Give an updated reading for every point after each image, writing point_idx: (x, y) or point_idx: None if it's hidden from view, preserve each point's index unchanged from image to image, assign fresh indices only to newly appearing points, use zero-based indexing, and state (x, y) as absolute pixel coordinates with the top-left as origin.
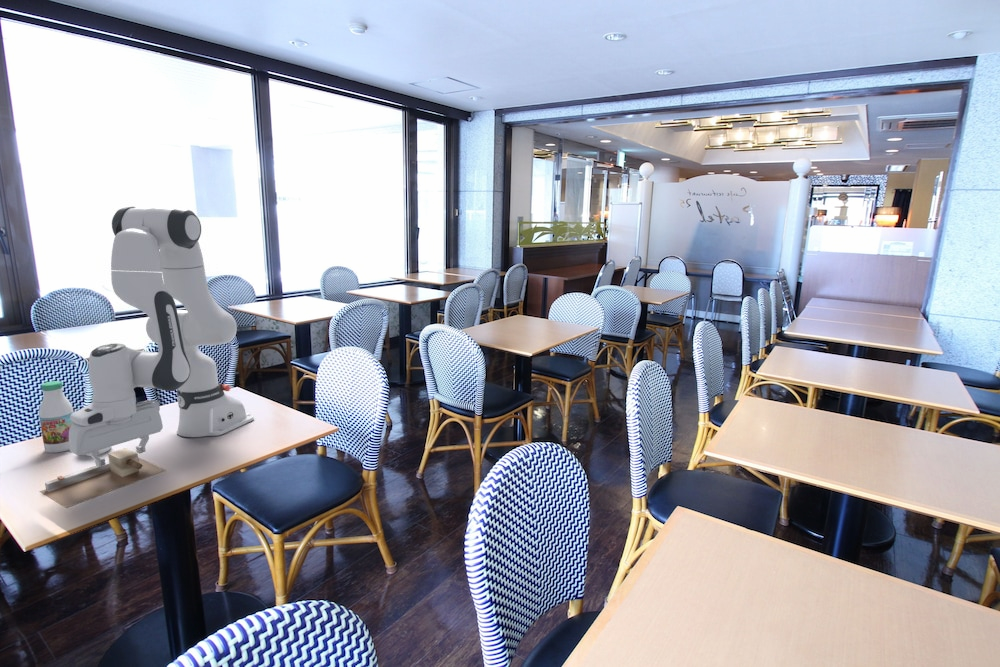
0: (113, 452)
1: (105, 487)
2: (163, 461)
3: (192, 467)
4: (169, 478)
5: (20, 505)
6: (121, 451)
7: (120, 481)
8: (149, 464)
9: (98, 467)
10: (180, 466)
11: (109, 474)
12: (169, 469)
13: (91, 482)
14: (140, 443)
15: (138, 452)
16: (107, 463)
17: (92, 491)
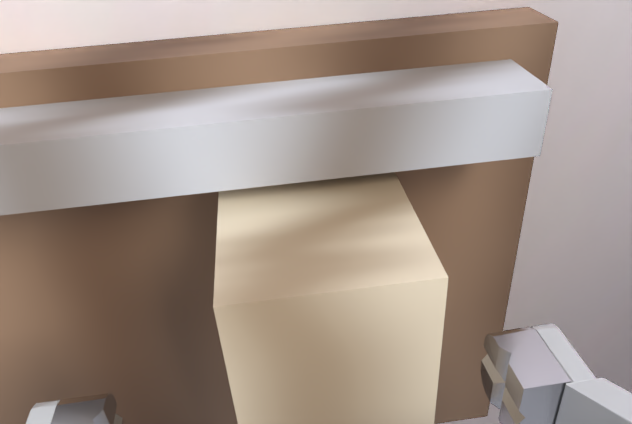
0: (280, 318)
1: None
2: (626, 166)
3: (615, 381)
4: (453, 421)
5: None
6: (361, 348)
7: (214, 393)
8: (493, 270)
9: (100, 202)
10: (600, 327)
11: (189, 232)
12: (538, 322)
13: (25, 281)
14: (588, 411)
15: (489, 357)
16: (206, 173)
17: (18, 415)
